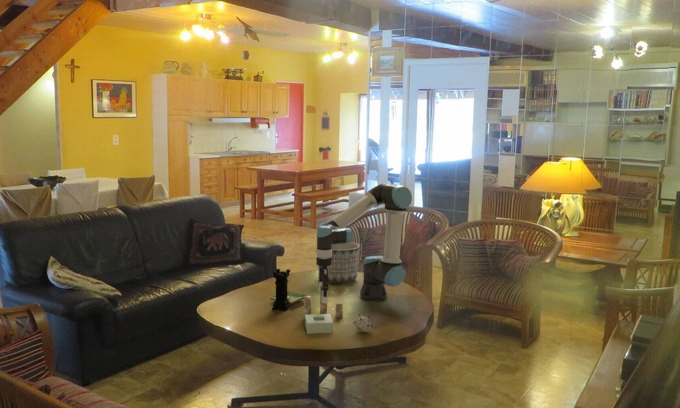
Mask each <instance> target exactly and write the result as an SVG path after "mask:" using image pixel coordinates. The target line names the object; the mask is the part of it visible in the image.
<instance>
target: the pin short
mask: <svg viewBox="0 0 680 408" xmlns="http://www.w3.org/2000/svg"><path fill="white" fill-rule="evenodd" d="M343 309H344V304H343V302H340V301H339V302H335V318H337V319H342V318H343Z"/></svg>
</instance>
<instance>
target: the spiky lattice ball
mask: <svg viewBox="0 0 680 408" xmlns="http://www.w3.org/2000/svg"><path fill="white" fill-rule="evenodd" d="M358 316H359V317H357V319H356V320H355V321H353V322H352V324H354V325H355V327H356V328H355V329H356V333H358V332H360V333H361V332H362V333H365V334H366V335H367V334H368V333H367V332H368V331H369V330H370V328H371V327H373V326H374V325H373V324H372V323H371V320H370V316H369V315H368V317H367V316H363V315H361V314H360V313H359V315H358Z"/></svg>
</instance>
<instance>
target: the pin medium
mask: <svg viewBox="0 0 680 408" xmlns="http://www.w3.org/2000/svg"><path fill="white" fill-rule="evenodd" d="M311 314H312V296H311V295H304V297H303V319H304V320H305V315H311Z"/></svg>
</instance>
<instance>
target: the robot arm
mask: <svg viewBox="0 0 680 408" xmlns="http://www.w3.org/2000/svg"><path fill="white" fill-rule="evenodd" d="M412 200H413V195H412V191H411V190H410V189H409V188H408V187H407V186H406V185H405V186H404V185H402V184H395V183H390V182H384V183H380V184H378V185H376V186H375V187H373V188H371V189H370V190H368V191H367V192H365V193H364V196H363V197H362V198H361V197H360V199H359V200H357V201H356V202H354V203H353V204H352V205H350V206H349V207H347V208H346V209H345V210H344V211H342V212H340V214H338V215H337V216H335V217H333V218H332V219H330V220H329V221H328V222H326V223H325V222H323V223H320V224H318V226H317V228H316V250H315V253H316V260H315V264H316V266H317V267H318V266H320V268H319V272H318V296H320V286H322V287H323V289H321V290H322V303H327V304H328V294H329V293H328V292H329V289H330V288H329V282H328V269H327V266H330V265H331V261H332V258H331V257H332V245H333V244H343V243H349V242H353V241H354V240H353V239H354V233H353V230H352V229H351V227H350V228H349V227H348V226H350V225H351V224H352V223H354V222H355V221H356V220H358V219H360V217H362V216H363V215H365V214H366V213H367V212H369V211H370V210H371V209H373V208H374V209H375V208H377V207H379V206H381V205H384V210H385V211H386V221H385V230H384V231H385V234H384V245H383V255H371V256H370V255H369V256H366V257H365V258H364V259H363V284H362V286H361V289H360V291H359V292H360V293H359V298H361V299H362V300H365V301H371V302H372V301H373V302H378V301H384V300H386V299H387V298H388V292H387V288H386V286H388V287H398V286H399V285H401V284H402V283H403V281H404V280H405V277H406V269H404V267H402V263H403V262H402V261H403V260H402V259H401V258H400V252H401V242H402V241H401V240H402V231H403V222H404V221H403V220H404V214H405V213H406V212H407V209H408V208H409V207H410V205H411V204H412ZM324 287H326V288H324Z"/></svg>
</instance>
